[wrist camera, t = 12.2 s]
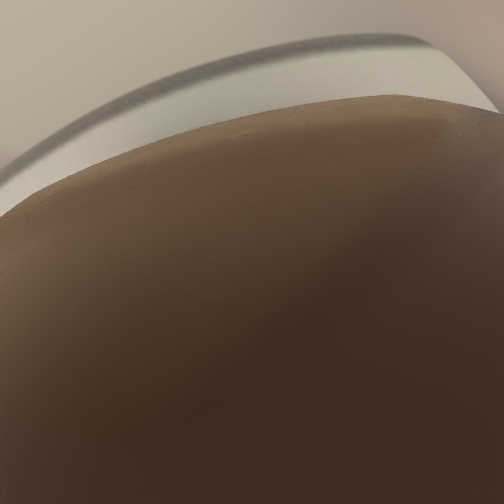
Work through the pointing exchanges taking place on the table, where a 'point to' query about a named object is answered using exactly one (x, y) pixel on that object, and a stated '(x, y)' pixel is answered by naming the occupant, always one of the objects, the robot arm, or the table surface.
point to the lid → (263, 315)
